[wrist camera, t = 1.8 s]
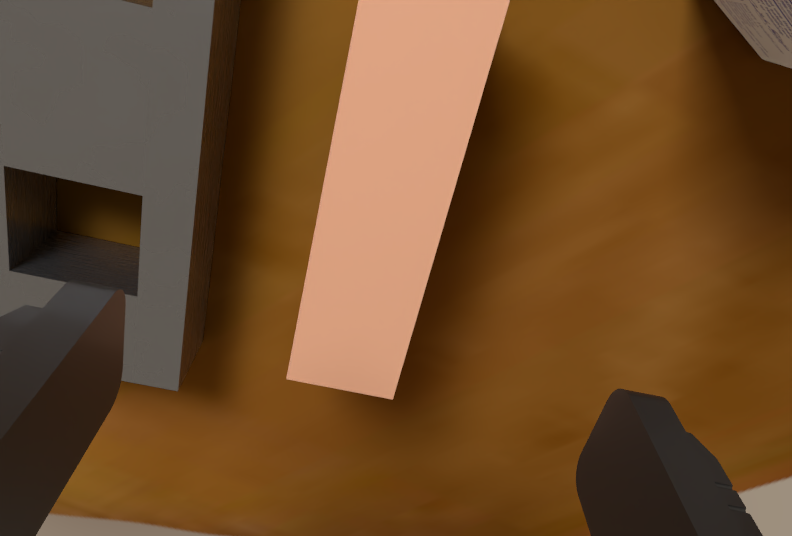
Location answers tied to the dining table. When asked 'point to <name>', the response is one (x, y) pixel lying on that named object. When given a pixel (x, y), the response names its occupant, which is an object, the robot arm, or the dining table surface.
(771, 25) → the medicine box
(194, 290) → the rail
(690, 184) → the dining table surface
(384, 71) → the block
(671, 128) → the dining table surface
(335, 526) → the dining table surface
